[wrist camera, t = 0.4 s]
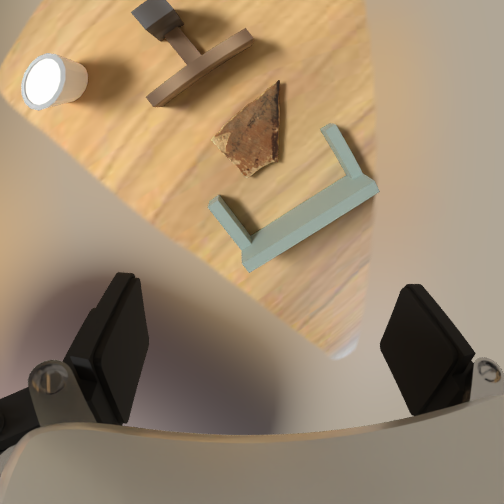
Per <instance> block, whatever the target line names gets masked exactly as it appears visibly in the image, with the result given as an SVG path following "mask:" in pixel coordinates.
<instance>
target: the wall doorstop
mask: <svg viewBox="0 0 504 504" xmlns="http://www.w3.org/2000/svg"><path fill="white" fill-rule="evenodd" d="M131 13H132V14H133V15H134V17H135V18H136V19H137V20H138V21H139V22H140V24H141V25H142V26H143V27H144V28H145V30H147V31H148V32H149V33H151V34H152V35H153V36H154V37H156V38H157V39H158V40H159V41H161V40H163V39H164V38H166V39H167V41H168V42H169V43H170V44H171V46H172V47H173V48H174V49H175V50H176V52H177V53H178V54H179V55H180V57H181V58H182V59H183V60H184V62H185V63H186V64H187V66H185V67H184V68H183V69H181V70H180V71H179V72H177V73H176V74H174V75H173V76H172V77H170V78H169V79H168V80H167V81H165V82H164V83H163V84H161V85H160V86H159V87H158V88H156V89H155V90H154V91H153V92H151V93H150V94H149V95H148V96H146V98H147V99H148V101H149V102H150V103H151V105H152V106H153V107H163V106H164V105H165V104H166V103H168V102H169V101H170V100H171V99H173V98H174V97H175V96H177V95H178V94H179V93H181V92H182V91H183V90H185V89H186V88H188V87H189V86H190V85H192V84H193V83H194V82H196V81H197V80H199V79H200V78H202V77H203V76H204V75H206V74H207V73H209V72H210V71H212V70H213V69H215V68H216V67H218V66H219V65H221V64H222V63H224V62H226V61H227V60H229V59H230V58H232V57H234V56H235V55H237V54H238V53H240V52H242V51H243V50H245V49H247V48H248V47H250V46H252V43H253V39H254V38H253V37H252V36H251V34H250V33H249V32H248V31H247V29H246V28H245V29H243V30H241V31H240V32H238V33H236V34H235V35H233V36H231V37H229V38H228V39H226V40H225V41H223V42H221V43H220V44H218V45H217V46H215V47H213V48H212V49H210V50H209V51H207V52H206V53H204V54H203V55H201V54H200V53H199V51H198V50H197V49H196V48H195V47H194V45H193V44H192V43H191V42H190V40H189V39H188V38H187V37H186V36H185V34H184V33H183V32H182V31H181V30H180V27H181V26H183V25H184V23H183V22H182V21H181V19H180V18H179V16H178V15H177V13H176V12H175V10H174V9H173V8H172V7H171V5H170V4H169V3H168V2H167V1H166V0H147V1H145V2H144V3H143V4H141V5H140V6H139V7H137V8H136V9H135V10H133V11H132V12H131Z"/></svg>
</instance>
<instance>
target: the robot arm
mask: <svg viewBox="0 0 504 504" xmlns="http://www.w3.org/2000/svg"><path fill="white" fill-rule="evenodd" d="M148 346H149V336H148V331H147V325H146V319H145V312H144V306H143V299H142V291H141V283H140V279H139V278H135V275H134V274H133V273H120V272H118V273H117V274H116V275H115V277H114V278H113V280H112V281H111V283H110V285H109V286H108V288H107V290H106V291H105V293H104V295H103V296H102V298H101V300H100V302H99V303H98V305H97V307H96V308H93V309H92V310H91V311H90V312H89V314H88V316H87V318H86V319H85V321H84V323H83V325H82V327H81V328H80V330H79V332H78V334H77V335H76V337H75V339H74V341H73V343H72V345H71V347H70V348H69V350H68V352H67V354H66V356H65V358H64V360H63V362H62V361H59V360H48V361H44V362H42V363H40V364H38V365H37V366H36V367H35V368H34V369H33V370H32V371H31V373H30V374H29V378H28V387H27V388H25V389H23V390H20V391H18V392H16V393H13V394H11V395H9V396H7V397H4V398H2V399H0V504H504V373H503V371H502V369H501V368H500V366H499V365H498V364H497V363H495V362H494V361H493V360H491V359H488V358H478V359H477V360H476V361H475V362H474V363H473V362H472V361H471V360H472V358H473V357H474V355H475V352H474V350H473V349H472V348H471V346H470V345H469V344H468V342H467V341H466V340H465V338H464V337H463V336H462V334H461V333H460V332H459V330H458V329H457V328H456V327H455V325H454V324H453V323H452V321H451V320H450V319H449V318H448V316H447V315H446V314H445V312H444V311H443V310H442V309H441V307H440V306H439V305H438V304H437V303H436V301H435V300H434V299H433V298H432V297H431V295H430V294H429V293H428V292H427V291H426V290H425V288H424V287H423V286H422V285H421V284H407V285H406V286H405V287H404V288H402V290H401V291H400V294H399V297H398V299H397V302H396V305H395V307H394V310H393V312H392V315H391V318H390V320H389V322H388V325H387V327H386V330H385V332H384V335H383V337H382V339H381V342H380V349H381V352H382V354H383V356H384V358H385V360H386V362H387V364H388V366H389V368H390V370H391V372H392V374H393V377H394V379H395V380H396V383H397V385H398V387H399V389H400V391H401V394H402V396H403V398H404V400H405V402H406V405H407V407H408V409H409V411H410V413H411V415H413V417H409V418H404V419H400V420H395V421H390V422H384V423H379V424H373V425H368V426H361V427H354V428H347V429H340V430H331V431H322V432H311V433H298V434H280V435H279V434H278V435H216V434H198V433H184V432H171V431H161V430H153V429H145V428H137V427H128V426H122V424H123V423H127V422H128V420H129V416H130V412H131V408H132V404H133V400H134V396H135V393H136V389H137V385H138V382H139V378H140V374H141V371H142V367H143V364H144V360H145V357H146V353H147V350H148Z"/></svg>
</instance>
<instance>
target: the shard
mask: <svg viewBox="0 0 504 504" xmlns="http://www.w3.org/2000/svg"><path fill="white" fill-rule="evenodd" d="M279 90H280V80H278V81H277V82H275V83H274V84H273V85H272V86H271V87H269V88H268V89H267V90H266V91H265V92H264V93H263V94H262V95H260V96H259V97H258V98H257V99H255V100H254V101H253V102H251V103H250V104H248V105H247V106H246V107H244V108H243V109H242V110H241V111H240V112H238V113H237V114H236V115H235V116H233V118H232V119H231V120H229V121H228V122H227V123H226V124H225V125H224V126H223V127H222V128H221V130H220V132H218V133H217V134H216V135H215V136H213V138H212V139H211V141H213V143H214V144H215V145H216V146H217V147H218V148H219V149H220V151H221V152H222V153H223V154H224V155H225V156H226V157H227V158H228V159H230V160H231V162H232V163H233V164H234V165H235V166H236V167H237V168H238V169H239V170H240V172H241V174H242V175H243V176H244V177H247V178H249V177H250V176H251V175H253V174H254V173H255V172H256V171H258V170H259V169H260V168H262V167H263V166H265V165H267V164H270V163H272V162H278V148H279V122H280V120H279V118H280V107H279Z"/></svg>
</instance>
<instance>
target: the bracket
mask: <svg viewBox="0 0 504 504" xmlns="http://www.w3.org/2000/svg"><path fill="white" fill-rule="evenodd" d="M320 130H321V132H322V134H323V135H324V137H325V139H326V140H327V142H328V144H329V145H330V147H331V149H332V150H333V152H334V154H335V155H336V157H337V159H338V161H339V162H340V164H341V166H342V168H343V170H344V171H345V173H346V176H345V177H343V178H341V179H340V180H338V181H337V182H335V183H333V184H332V185H330V186H329V187H327V188H325V189H324V190H322V191H321V192H319V193H317V194H316V195H314V196H313V197H311V198H309V199H308V200H306V201H305V202H303V203H302V204H300V205H298V206H297V207H295V208H294V209H292V210H290V211H289V212H287V213H286V214H284V215H283V216H281V217H279V218H278V219H276V220H275V221H273V222H272V223H270V224H268V225H267V226H265V227H264V228H262V229H261V230H259V231H258V232H256V233H254V234H253V235H251V236H250V235H249V233H248V232H247V231H246V229H245V228H244V227H243V225H242V224H241V223H240V221H239V220H238V219H237V217H236V216H235V215H234V213H233V212H232V211H231V210H230V208H229V207H228V206H227V204H226V203H225V202H224V200H223V199H222V198H221V196H220V195H218V196H216V197H215V198H213V199H212V200H210V201H209V205H208V208H209V210H210V211H211V212H212V213H213V215H214V216H215V217H216V219H217V220H218V221H219V222H220V224H221V225H222V226H223V227H224V229H225V230H226V231H227V233H228V234H229V235H230V236H231V238H232V239H233V240H234V241H235V243H236V244H237V245H238V246H239V248H240V249H241V250H242V264H243V266H244V267H245V268H246V269H247V271H248V272H249V273H250V272H252V271H253V270H255V269H256V268H258V267H260V266H261V265H263V264H265V263H266V262H268V261H270V260H271V259H273V258H274V257H276V256H278V255H279V254H281V253H283V252H284V251H286V250H287V249H289V248H291V247H292V246H294V245H296V244H297V243H299V242H300V241H302V240H304V239H305V238H307V237H308V236H310V235H312V234H313V233H315V232H316V231H318V230H320V229H321V228H323V227H324V226H326V225H328V224H329V223H331V222H332V221H334V220H336V219H337V218H339V217H340V216H342V215H344V214H345V213H347V212H348V211H350V210H352V209H353V208H355V207H356V206H358V205H359V204H361V203H363V202H364V201H366V200H367V199H369V198H370V197H372V196H374V195H375V194H377V193H378V192H379V189H378V187H377V185H376V183H375V181H374V180H373V179H371V178H369V177H368V176H366V175H364V174H363V173H362V171H361V169H360V167H359V165H358V163H357V161H356V159H355V158H354V156H353V154H352V152H351V150H350V148H349V147H348V145H347V143H346V141H345V139H344V138H343V136H342V134H341V133H340V131H339V129H338V127H337V126H336V124H331V123H329V124H327V125H326V126H324V127H322V128H321V129H320Z"/></svg>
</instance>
